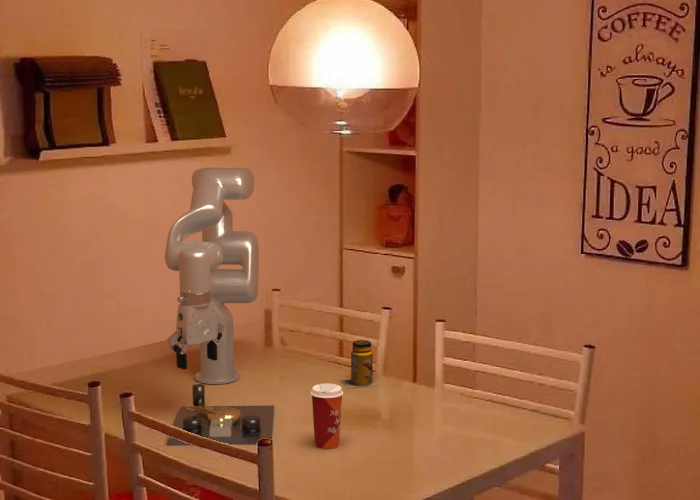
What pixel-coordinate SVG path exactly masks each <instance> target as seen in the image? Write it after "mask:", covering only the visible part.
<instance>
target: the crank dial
mask: <svg viewBox="0 0 700 500" xmlns="http://www.w3.org/2000/svg"><path fill="white" fill-rule="evenodd" d="M205 387H206V386H205V384H204V383H196V384H193V385H192V387H191V388H192V389H191V390H192V406H194V408H195V411H198V412H201V413H203V414H206V415H207V416H208V422H209V423H210V424H211V420H212V419H218V417H219V415H220V414H224V415H225V419H233V424H236V423H238V422H239V421H240V410H238V409H236V408H231V407H220V408H213V407H210V406H211V405H207V404H206V401H205V400H206V398H205V395H206V393H205V391H206V390H205Z"/></svg>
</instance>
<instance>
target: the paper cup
mask: <svg viewBox="0 0 700 500" xmlns="http://www.w3.org/2000/svg"><path fill="white" fill-rule="evenodd" d="M310 395H311V399H312V400H311V401H312V402H311V403H312V420H313V434H314V436H313V437H314V445H316V446H315V447H316V448H318V447H319V448H318V449H321V448H324V449H323V450H331V449H330V448H333V449H336V448H338V447H339V446H338V445H340V434H341V421H342V420H341V418H342V403H343V401H342V400H343V395H344V391H343V388H342V386H341V385H340V384H339V385H338V384H335V383H320V384H319V383H318V384H315V385H314V386H312V388H311V390H310ZM337 446H338V447H337ZM335 447H336V448H335ZM327 448H328V449H327Z"/></svg>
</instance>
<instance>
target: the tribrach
mask: <svg viewBox="0 0 700 500" xmlns="http://www.w3.org/2000/svg"><path fill="white" fill-rule="evenodd" d="M209 406H210V407H213V408H220V407H231V408H236V409H238V410H240V421H239V422H238V423H236V424H233V419H225V415H224V414H220V415H219V417H218V419H212V420H211V424H210V423H209V422H208V416H207V415H206V414H203V413H201V412H198V411H195V408H194V406H193V405H191V406H187V405H186V406H183V405H182V406H180V407H179V410H178V413H177V414H176V418H175V421H174V423H173V426H175V427H178V428H181V429H183V430H186V431H188V432H191V433H194V434H197V435H200V436H202V437H206V438H209V439H212V440H216V441H219V442H223V443H228V444H230V445H231V444H235V445H257V444H256V443H257V441H258V440H259V439H262V438H269V439H272V440H273V434H274V433H273V432H274V420H275V419H274V418H275V404H274V405H212V406H211V405H209ZM168 446H190V445H189V444H186V443H184V442H182V441H179V440H177V439H174V438H171V437H170V436H169V437H168Z"/></svg>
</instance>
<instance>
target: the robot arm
mask: <svg viewBox="0 0 700 500" xmlns="http://www.w3.org/2000/svg"><path fill="white" fill-rule="evenodd" d="M191 185H192V194H191V200H190V207H189V210H188V211H187V212H185V213H184V214H182V215H181V216H180V217H178V219H177V220H176V221H175V222H174V223H173V224H172V225H171V227H170V229H169V231H168V234H167V239H166V244H165V250H164V261H165V265H166V266H167V268H168V269H170V270H171V271H176V272H179V277H178V278H179V296H178V297H177V299H176V300H177V302H178V303H179V304H178V306H177V307H178V308H177V311H176V312H177V313H176V321H175V322H176V323H175V325H176V326H175V327H176V329H175V331H174V332H173V333H172V334H171V335H170V336H169V337H168V338H167V340H166V341H167V343H168V345H169V346H170V349H171V350H172V351H173V352H174V353H175V355H176V367H177V368H178V369H181V370H184V371H186V370H187V369H188V359H187V357H188V355H187V354H186V352H187V349H188V347H193V346H194V347H195V346H197V345H199V355H200V357H199V358H200V361H199V362H200V371H198V372H196V373H195V375H194V379H195V380H196V381H197V382H198V383H200V384H204V385H205V384H206V385H207V384H208V385H224V384H229V383H234V382H236V381H238V380H239V379H240V372H239V371H238V370H235V351H234V350H235V349H234V348H235V345H234V344H235V341H234V340H235V339H234V336H235V335H234V316H233V314H232V312H231V311H230V309H229V308H228V307H227V305H226V304H249V303H250V304H251V303H253V302H255V301H256V299H257V298H258V293H259V267H260V266H259V264H260V263H259V262H260V261H259V256H260V255H259V254H260V253H259V252H260V251H259V248H260V247H259V240H258V237H257V236H256V234H255V233H254V232H251V231H248V230H234V229H233V219H234V216H233V212H232V210H231V208H230V207H229V206H228V204H227V203H226V202H225V200H230V201H231V200H233V201H234V200H235V201H236V200H241V201H243V200H247V199H250V197H251V196H252V195H253V193H254V189H255V177H254V174H253V172H252V170H251V169H250V168H247V167H202V168H198V169H196V170H194V171H193V172H192V175H191ZM198 233H201V241H197V240H196V241H193V240H192V241H189V240H188V241H186V239H187V238H189V237H190V236H192V235H195V234H198ZM222 265H223V266H225V265H227V266H228V265H233V266H236V265H237V266H241V268H240V269H239V268H237V269H236V268H231V269H230V268H220V266H222Z"/></svg>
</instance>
